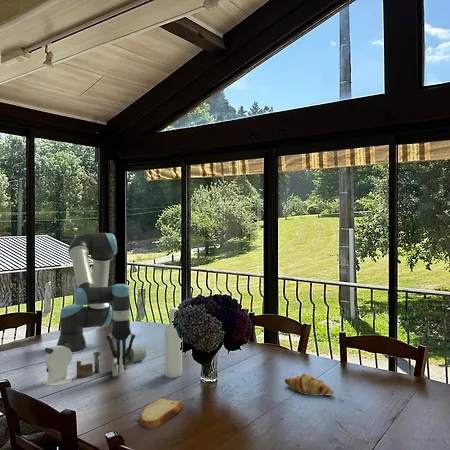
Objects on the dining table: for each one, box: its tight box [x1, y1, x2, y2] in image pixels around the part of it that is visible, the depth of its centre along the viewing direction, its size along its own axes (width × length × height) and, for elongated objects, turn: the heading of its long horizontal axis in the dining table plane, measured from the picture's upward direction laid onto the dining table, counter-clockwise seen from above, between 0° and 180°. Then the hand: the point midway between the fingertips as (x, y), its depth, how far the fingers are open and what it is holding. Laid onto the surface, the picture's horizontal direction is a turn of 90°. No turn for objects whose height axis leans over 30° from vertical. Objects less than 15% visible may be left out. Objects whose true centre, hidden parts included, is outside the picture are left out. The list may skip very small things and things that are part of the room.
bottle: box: [163, 307, 183, 379], centre depth 200 cm, size 8×8×30 cm
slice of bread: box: [139, 397, 184, 429], centre depth 158 cm, size 18×18×4 cm
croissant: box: [284, 373, 334, 396], centre depth 181 cm, size 21×10×8 cm, turn 58°
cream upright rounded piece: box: [43, 343, 73, 387], centre depth 191 cm, size 12×11×15 cm
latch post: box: [93, 351, 101, 374], centre depth 202 cm, size 2×2×9 cm
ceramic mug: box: [126, 345, 147, 364], centre depth 221 cm, size 11×8×8 cm
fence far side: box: [76, 360, 94, 379], centre depth 197 cm, size 2×7×7 cm, turn 124°
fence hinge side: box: [113, 349, 127, 372], centre depth 206 cm, size 2×6×10 cm, turn 125°
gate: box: [111, 357, 119, 377], centre depth 200 cm, size 8×2×6 cm, turn 9°
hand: (121, 371), depth 198 cm, fingers closed
